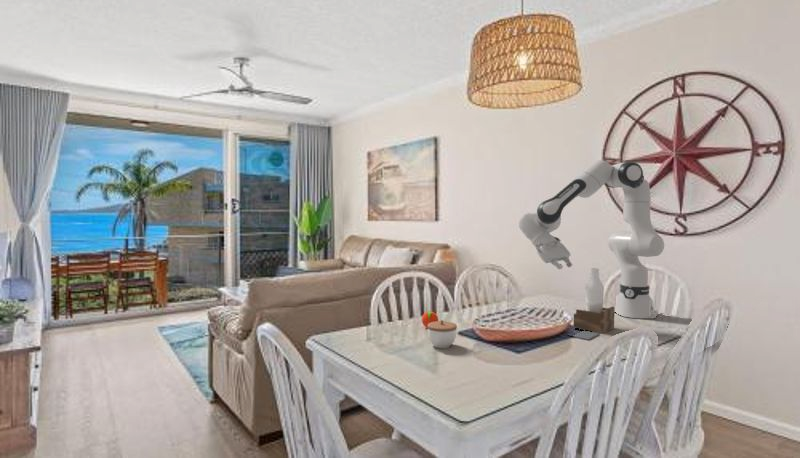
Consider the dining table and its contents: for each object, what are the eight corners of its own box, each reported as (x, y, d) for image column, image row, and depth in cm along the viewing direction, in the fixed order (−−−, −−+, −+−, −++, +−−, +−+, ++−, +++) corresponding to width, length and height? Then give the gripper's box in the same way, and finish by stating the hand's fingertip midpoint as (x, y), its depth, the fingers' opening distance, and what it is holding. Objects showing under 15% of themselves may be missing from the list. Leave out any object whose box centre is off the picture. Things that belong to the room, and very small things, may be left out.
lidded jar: (455, 351, 159) (455, 324, 159) (425, 349, 161) (425, 323, 161) (457, 342, 170) (457, 317, 169) (429, 340, 172) (429, 316, 172)
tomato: (437, 331, 185) (437, 313, 185) (420, 330, 186) (420, 313, 186) (438, 326, 193) (438, 309, 193) (422, 325, 194) (422, 309, 194)
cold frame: (585, 323, 197) (585, 302, 197) (614, 328, 189) (614, 306, 188) (573, 328, 189) (573, 307, 188) (602, 333, 180) (603, 311, 180)
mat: (572, 329, 187) (572, 328, 187) (599, 334, 179) (599, 333, 179) (560, 334, 179) (560, 333, 179) (588, 340, 172) (588, 339, 172)
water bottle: (606, 330, 185) (607, 270, 184) (588, 330, 185) (589, 270, 184) (598, 326, 192) (599, 267, 191) (581, 326, 193) (582, 267, 191)
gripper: (538, 240, 194) (560, 264, 188) (560, 237, 208) (581, 260, 202) (529, 249, 197) (549, 274, 191) (551, 247, 212) (571, 269, 205)
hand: (566, 267), depth 197 cm, fingers open, 8 cm apart
